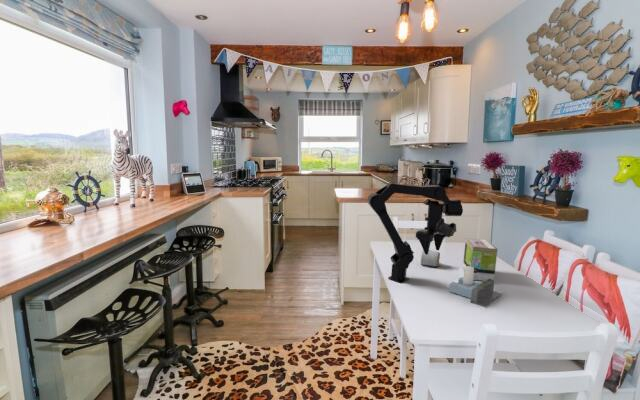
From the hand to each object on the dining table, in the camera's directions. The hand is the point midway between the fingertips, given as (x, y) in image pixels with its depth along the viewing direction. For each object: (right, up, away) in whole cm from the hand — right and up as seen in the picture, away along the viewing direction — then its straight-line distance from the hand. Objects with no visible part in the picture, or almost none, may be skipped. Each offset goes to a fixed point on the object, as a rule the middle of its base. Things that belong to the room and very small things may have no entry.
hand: (432, 252), depth 143 cm
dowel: (+10, -14, -10) cm, 20 cm away
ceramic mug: (+6, -9, +21) cm, 24 cm away
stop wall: (+15, -15, -16) cm, 26 cm away
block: (+10, -14, -11) cm, 20 cm away
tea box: (+23, -12, +9) cm, 28 cm away
